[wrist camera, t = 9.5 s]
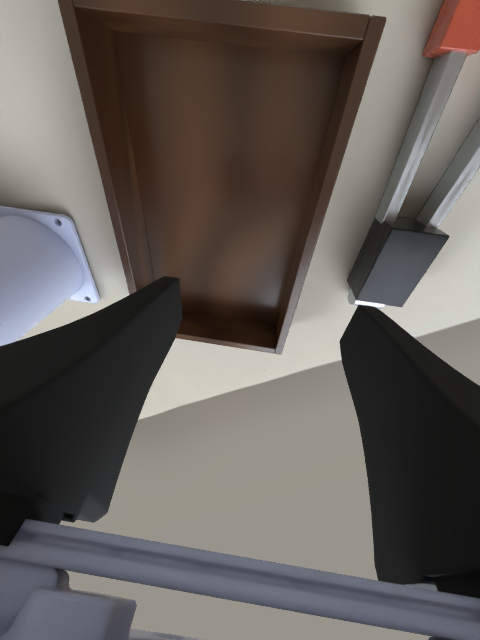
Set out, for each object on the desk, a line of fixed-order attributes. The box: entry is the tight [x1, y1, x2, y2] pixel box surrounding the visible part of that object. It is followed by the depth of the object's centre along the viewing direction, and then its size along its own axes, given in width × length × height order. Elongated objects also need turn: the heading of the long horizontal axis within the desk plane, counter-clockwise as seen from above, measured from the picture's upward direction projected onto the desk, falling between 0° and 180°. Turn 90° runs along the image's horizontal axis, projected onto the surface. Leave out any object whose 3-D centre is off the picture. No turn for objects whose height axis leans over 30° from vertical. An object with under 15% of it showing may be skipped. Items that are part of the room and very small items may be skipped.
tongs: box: [347, 0, 480, 309], centre depth 13 cm, size 5×15×3 cm, turn 175°
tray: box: [58, 0, 386, 354], centre depth 15 cm, size 12×18×4 cm
